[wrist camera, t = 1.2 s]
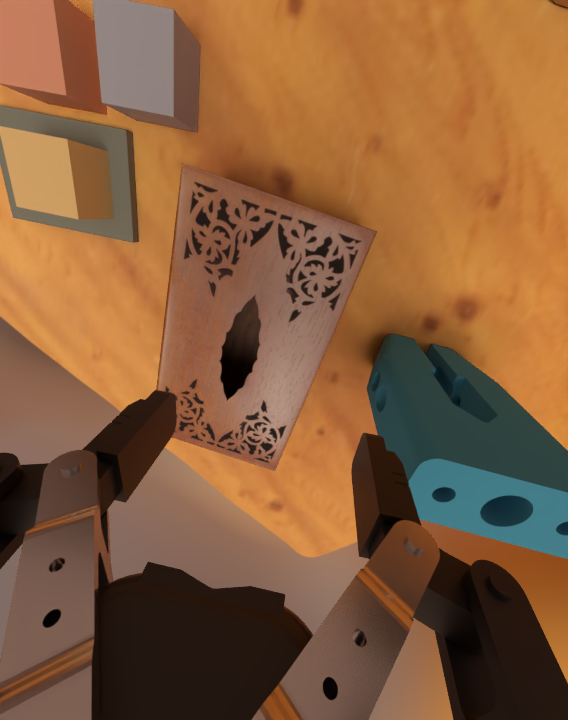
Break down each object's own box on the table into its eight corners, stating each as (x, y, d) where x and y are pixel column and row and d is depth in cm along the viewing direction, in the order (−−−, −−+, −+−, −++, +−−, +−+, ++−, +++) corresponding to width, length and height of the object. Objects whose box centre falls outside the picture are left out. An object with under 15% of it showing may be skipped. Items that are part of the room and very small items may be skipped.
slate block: (133, 33, 25) (92, -6, 20) (201, 46, 25) (173, 9, 20) (137, 120, 28) (101, 102, 23) (198, 133, 27) (173, 116, 23)
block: (357, 364, 36) (389, 510, 18) (372, 328, 33) (425, 454, 16) (451, 389, 36) (577, 561, 18) (472, 354, 33) (641, 512, 16)
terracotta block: (35, 16, 25) (-28, -27, 21) (100, 27, 25) (51, -14, 20) (49, 104, 28) (-4, 82, 23) (108, 115, 28) (66, 95, 23)
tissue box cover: (285, 416, 41) (274, 471, 32) (189, 384, 41) (151, 430, 32) (361, 226, 29) (376, 231, 20) (226, 179, 29) (182, 162, 20)
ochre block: (49, 139, 28) (-2, 125, 24) (108, 151, 28) (67, 139, 24) (60, 208, 31) (16, 206, 26) (114, 218, 31) (78, 219, 26)
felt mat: (-4, 106, 28) (-15, 102, 27) (132, 132, 28) (126, 129, 27) (21, 217, 33) (13, 217, 32) (138, 241, 32) (133, 242, 32)
